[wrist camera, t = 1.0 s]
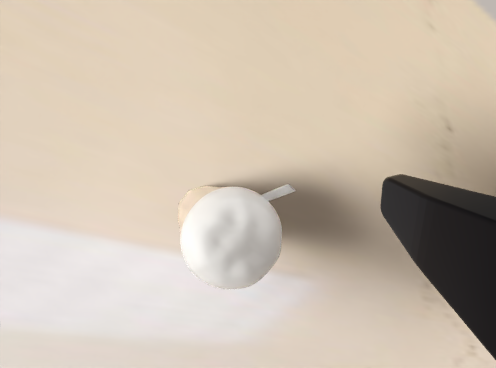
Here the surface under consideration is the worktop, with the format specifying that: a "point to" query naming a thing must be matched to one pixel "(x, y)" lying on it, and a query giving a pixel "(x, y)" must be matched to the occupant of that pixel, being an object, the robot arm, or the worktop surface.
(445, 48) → the worktop surface
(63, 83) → the worktop surface
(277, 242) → the milkshake
